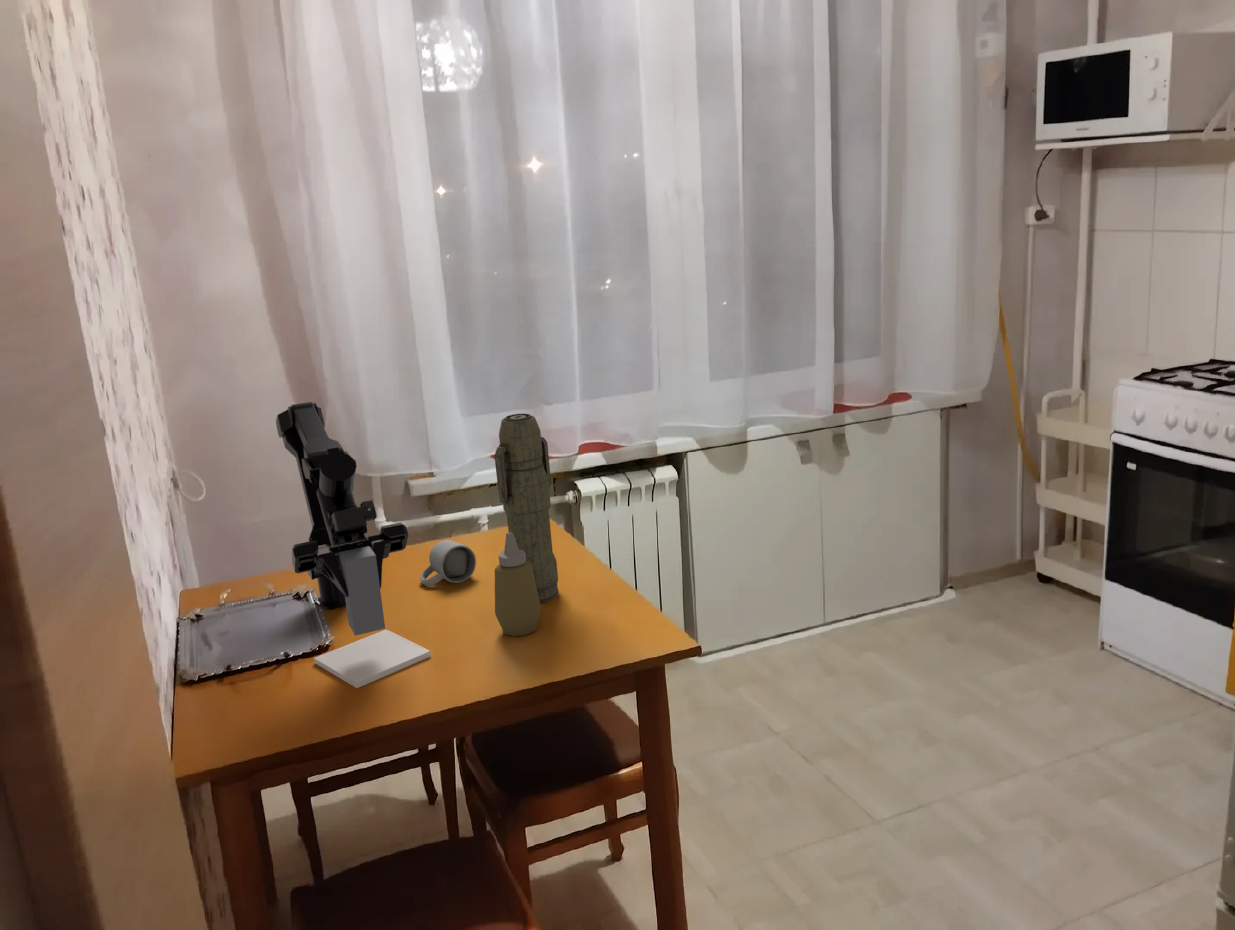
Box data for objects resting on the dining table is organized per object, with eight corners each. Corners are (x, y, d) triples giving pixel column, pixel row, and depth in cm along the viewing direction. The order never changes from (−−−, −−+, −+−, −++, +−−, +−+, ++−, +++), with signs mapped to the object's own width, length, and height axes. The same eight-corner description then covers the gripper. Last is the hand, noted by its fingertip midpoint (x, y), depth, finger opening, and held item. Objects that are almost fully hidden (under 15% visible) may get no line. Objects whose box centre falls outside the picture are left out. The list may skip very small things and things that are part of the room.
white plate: (314, 663, 166) (314, 657, 166) (387, 634, 175) (386, 629, 175) (356, 688, 156) (355, 682, 156) (430, 656, 165) (430, 650, 165)
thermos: (573, 587, 190) (557, 410, 181) (534, 610, 181) (515, 425, 172) (538, 579, 195) (520, 407, 186) (498, 601, 186) (478, 421, 177)
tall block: (348, 624, 165) (338, 552, 162) (378, 617, 167) (369, 546, 164) (354, 635, 161) (344, 561, 157) (385, 628, 163) (375, 555, 160)
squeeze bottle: (487, 632, 173) (476, 536, 168) (521, 616, 179) (511, 522, 174) (517, 644, 168) (507, 545, 163) (552, 627, 173) (542, 530, 168)
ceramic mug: (461, 566, 206) (456, 532, 203) (479, 577, 199) (474, 541, 197) (414, 581, 200) (408, 546, 198) (431, 592, 193) (425, 556, 191)
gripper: (283, 498, 157) (306, 584, 151) (398, 476, 165) (424, 557, 159) (283, 531, 166) (305, 613, 160) (392, 509, 174) (417, 586, 168)
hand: (363, 592), depth 161 cm, fingers closed on tall block, 5 cm apart
